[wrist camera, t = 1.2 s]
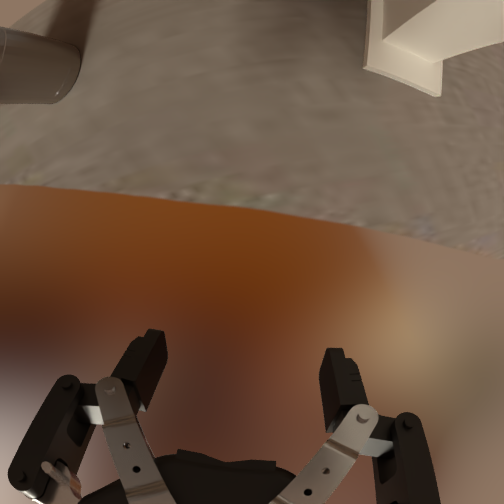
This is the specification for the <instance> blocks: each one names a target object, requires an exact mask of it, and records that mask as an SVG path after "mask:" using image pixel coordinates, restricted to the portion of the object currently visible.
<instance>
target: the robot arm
mask: <svg viewBox="0 0 504 504" xmlns="http://www.w3.org/2000/svg"><path fill="white" fill-rule="evenodd" d="M80 60H81V59H80V53H79V51H78V49H77V48H76V47H75V46H73V45H70V44H67V43H64V42H61V41H58V40H55V39H51V38H48V37H44V36H41V35H37V34H33V33H29V32H24V31H20V30H15V29H10V28H5V27H0V104H53V103H56V102H58V101H59V100H61V99H62V98H63V97H64V96H65V95H66V94H67V93H68V92H69V91H70V89H71V88H72V86H73V85H74V82H75V80H76V78H77V76H78V73H79V69H80ZM167 359H168V351H167V345H166V339H165V333H164V331H161V330H155V329H148V330H147V332H146V334H145V335H144V337H139V336H138V337H137V338H136V339H135V340H133V341H132V342H131V343H130V345H129V346H128V348H127V350H126V351H125V353H124V355H123V356H122V358H121V359H120V361H119V363H118V364H117V366H116V368H115V369H114V371H113V373H112V374H111V376H110V377H105V378H102V379H101V380H99V381H98V383H97V384H86V383H80V381H79V379H78V378H77V377H76V376H74V375H64V376H62V377H60V378H59V379H58V380H57V381H56V383H55V384H54V386H53V387H52V389H51V391H50V392H49V394H48V396H47V397H46V399H45V401H44V402H43V404H42V406H41V407H40V409H39V411H38V413H37V415H36V416H35V418H34V420H33V421H32V423H31V425H30V427H29V429H28V431H27V433H26V434H25V436H24V438H23V440H22V442H21V444H20V446H19V448H18V450H17V452H16V454H15V456H14V458H13V460H12V463H11V465H10V467H9V469H8V479H9V481H10V483H11V485H12V486H13V487H14V488H15V489H17V490H18V491H20V492H21V493H23V494H24V495H25V496H26V497H28V498H29V499H31V500H33V501H34V502H36V503H38V504H324V503H325V502H326V501H327V499H328V498H329V497H330V496H331V494H332V493H333V492H334V490H335V489H336V488H337V486H338V485H339V484H340V482H341V481H342V480H343V478H344V477H345V476H346V474H347V473H348V471H349V470H350V468H351V467H352V465H353V464H354V462H355V461H356V459H357V458H358V454H361V455H367V456H372V462H373V470H374V480H375V490H376V501H377V504H441V503H440V497H439V492H438V487H437V482H436V477H435V473H434V469H433V464H432V460H431V456H430V452H429V448H428V444H427V441H426V437H425V434H424V430H423V427H422V423H421V421H420V419H419V418H418V416H416V415H415V414H413V413H409V412H404V413H401V414H399V415H398V416H397V418H391V417H385V416H381V415H378V413H377V412H376V410H375V409H374V408H372V407H371V406H369V404H368V401H367V397H366V393H365V390H364V386H363V383H362V381H361V380H362V379H361V376H360V372H359V369H358V366H357V364H356V363H355V362H354V361H353V360H352V359H351V358H345V355H344V351H343V349H342V348H327V349H326V351H325V355H324V358H323V361H322V365H321V367H320V371H319V383H320V391H321V398H322V405H323V413H324V420H325V429H326V433H329V432H333V435H332V436H331V437H330V438H329V440H327V441H326V442H325V443H324V445H323V446H322V448H320V450H319V451H318V452H317V454H316V455H315V456H314V457H313V458H312V459H311V460H310V462H309V463H308V464H307V465H306V466H305V467H304V468H303V470H302V471H301V472H300V473H299V474H298V475H297V476H296V475H294V474H293V473H291V472H289V471H287V470H285V469H282V468H279V467H276V461H264V460H245V461H236V462H223V461H220V460H217V459H214V458H212V457H209V456H207V455H204V454H202V453H197V452H191V451H186V450H181V449H178V450H177V454H170V455H164V456H160V457H157V458H155V457H154V455H153V453H152V451H151V449H150V447H149V444H148V442H147V440H146V438H145V435H144V433H143V431H142V428H141V426H140V424H139V421H138V419H137V416H136V415H137V413H138V411H139V410H141V411H145V412H146V411H147V408H148V406H149V404H150V401H151V399H152V397H153V394H154V392H155V389H156V387H157V385H158V382H159V380H160V378H161V375H162V373H163V370H164V368H165V366H166V364H167ZM97 424H102V428H103V432H104V435H105V438H106V441H107V444H108V447H109V450H110V453H111V456H112V459H113V462H114V465H115V467H116V470H117V473H118V475H119V477H120V479H118V480H116V481H114V482H112V483H110V484H108V485H107V486H105V487H103V488H101V489H99V490H97V491H95V492H93V493H91V494H88V495H86V496H84V497H83V498H82V497H81V482H80V480H79V478H78V477H77V476H76V475H77V472H78V469H79V467H80V464H81V461H82V459H83V456H84V454H85V451H86V449H87V446H88V443H89V441H90V439H91V436H92V434H93V431H94V429H95V427H96V425H97Z"/></svg>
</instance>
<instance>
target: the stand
mask: <svg viewBox="0 0 504 504" xmlns="http://www.w3.org/2000/svg"><path fill="white" fill-rule="evenodd" d="M500 42H504V0H368V3H367V23H366V37H365V49H364V59H363V69H366V70H369V71H372V72H375V73H378V74H380V75H383V76H386V77H389V78H391V79H394V80H397V81H399V82H402V83H404V84H406V85H409V86H411V87H413V88H416V89H418V90H420V91H422V92H425V93H427V94H429V95H431V96H433V97H439V96H441V88H442V63H443V59H446V58H449V57H452V56H455V55H458V54H461V53H465V52H468V51H471V50H474V49H478V48H481V47H485V46H489V45H492V44H496V43H500Z"/></svg>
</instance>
